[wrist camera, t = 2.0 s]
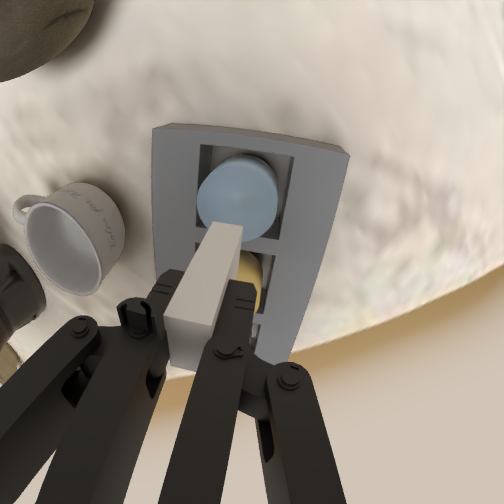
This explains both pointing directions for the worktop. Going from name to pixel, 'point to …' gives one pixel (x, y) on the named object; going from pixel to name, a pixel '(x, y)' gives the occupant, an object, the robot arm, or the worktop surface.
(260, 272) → the button ochre
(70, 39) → the smooth brown stone
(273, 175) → the button blue
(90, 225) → the teacup
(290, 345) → the three ball holder
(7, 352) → the planter bowl
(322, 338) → the worktop surface
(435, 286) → the worktop surface
